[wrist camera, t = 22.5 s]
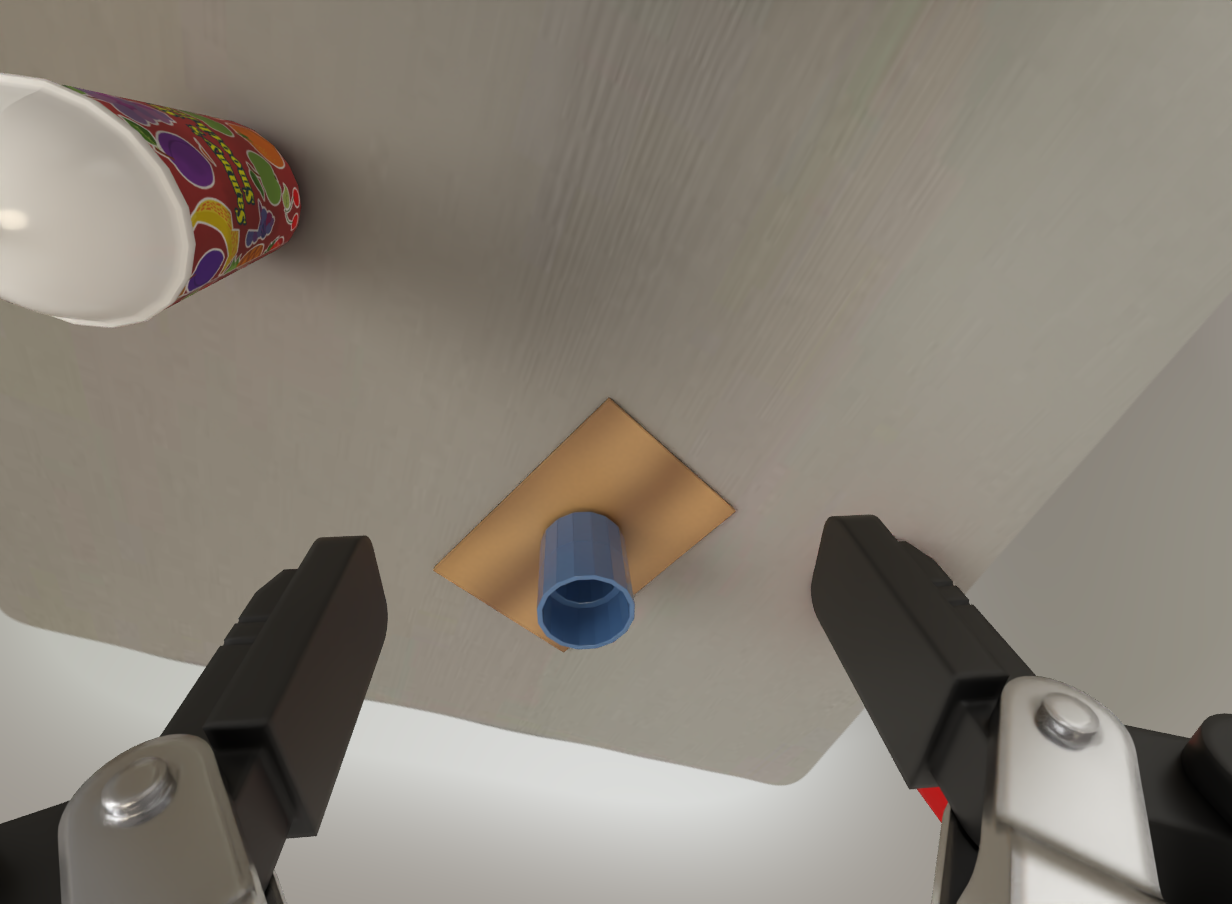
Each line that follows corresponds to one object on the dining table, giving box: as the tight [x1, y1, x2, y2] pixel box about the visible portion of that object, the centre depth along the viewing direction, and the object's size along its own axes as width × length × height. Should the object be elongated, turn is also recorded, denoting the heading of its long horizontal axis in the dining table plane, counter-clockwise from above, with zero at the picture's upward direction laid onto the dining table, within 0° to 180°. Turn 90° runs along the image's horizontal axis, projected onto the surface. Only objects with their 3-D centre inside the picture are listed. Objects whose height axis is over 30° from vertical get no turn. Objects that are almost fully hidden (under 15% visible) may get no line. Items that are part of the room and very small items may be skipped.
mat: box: [433, 398, 735, 652], centre depth 46 cm, size 14×20×1 cm
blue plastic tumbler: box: [537, 512, 635, 649], centre depth 42 cm, size 6×6×8 cm
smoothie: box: [0, 73, 301, 328], centre depth 24 cm, size 8×8×20 cm
